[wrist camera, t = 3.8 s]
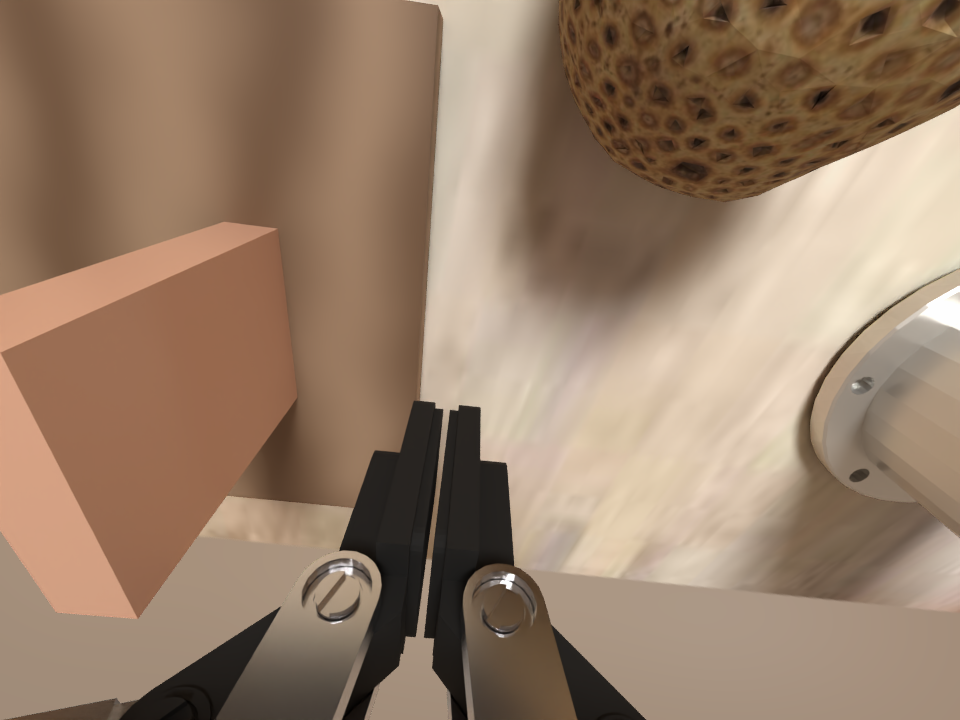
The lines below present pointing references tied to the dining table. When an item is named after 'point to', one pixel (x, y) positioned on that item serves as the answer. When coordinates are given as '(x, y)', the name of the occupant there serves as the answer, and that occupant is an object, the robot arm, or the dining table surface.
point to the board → (243, 183)
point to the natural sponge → (754, 83)
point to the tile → (137, 409)
